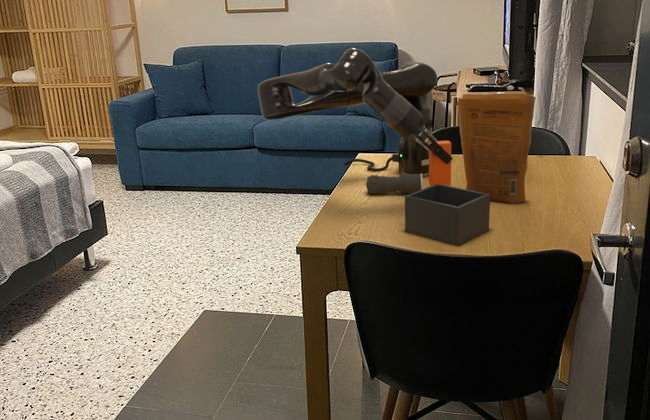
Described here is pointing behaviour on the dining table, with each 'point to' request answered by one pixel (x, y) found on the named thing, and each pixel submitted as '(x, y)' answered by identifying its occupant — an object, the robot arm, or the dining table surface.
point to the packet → (440, 166)
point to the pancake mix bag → (496, 143)
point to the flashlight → (394, 184)
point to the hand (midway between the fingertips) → (448, 159)
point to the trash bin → (447, 213)
